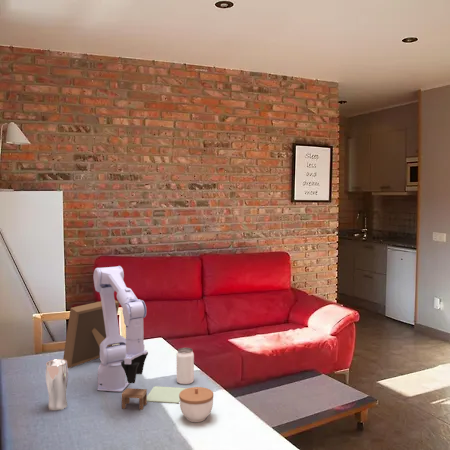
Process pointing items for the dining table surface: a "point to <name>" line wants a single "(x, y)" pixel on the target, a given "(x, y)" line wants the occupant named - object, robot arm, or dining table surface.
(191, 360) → the can
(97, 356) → the photo frame
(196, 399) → the lidded jar
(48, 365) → the beer glass
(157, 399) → the mat
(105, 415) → the dining table surface
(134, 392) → the stool
